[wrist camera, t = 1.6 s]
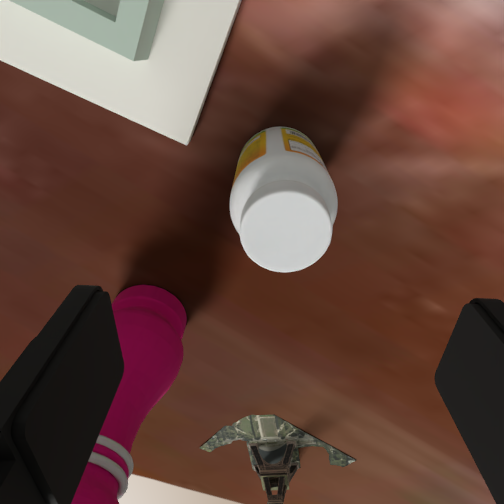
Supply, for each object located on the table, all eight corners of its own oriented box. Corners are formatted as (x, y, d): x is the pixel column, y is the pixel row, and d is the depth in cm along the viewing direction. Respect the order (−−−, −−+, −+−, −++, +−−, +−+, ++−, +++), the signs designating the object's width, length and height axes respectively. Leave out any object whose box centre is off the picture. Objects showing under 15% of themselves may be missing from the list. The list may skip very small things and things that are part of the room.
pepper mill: (91, 289, 29) (-163, 645, 12) (173, 269, 28) (22, 634, 11) (130, 351, 33) (-23, 698, 15) (205, 336, 31) (130, 695, 14)
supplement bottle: (245, 210, 25) (234, 292, 17) (231, 132, 23) (210, 183, 14) (322, 199, 25) (351, 279, 16) (317, 118, 22) (348, 163, 14)
